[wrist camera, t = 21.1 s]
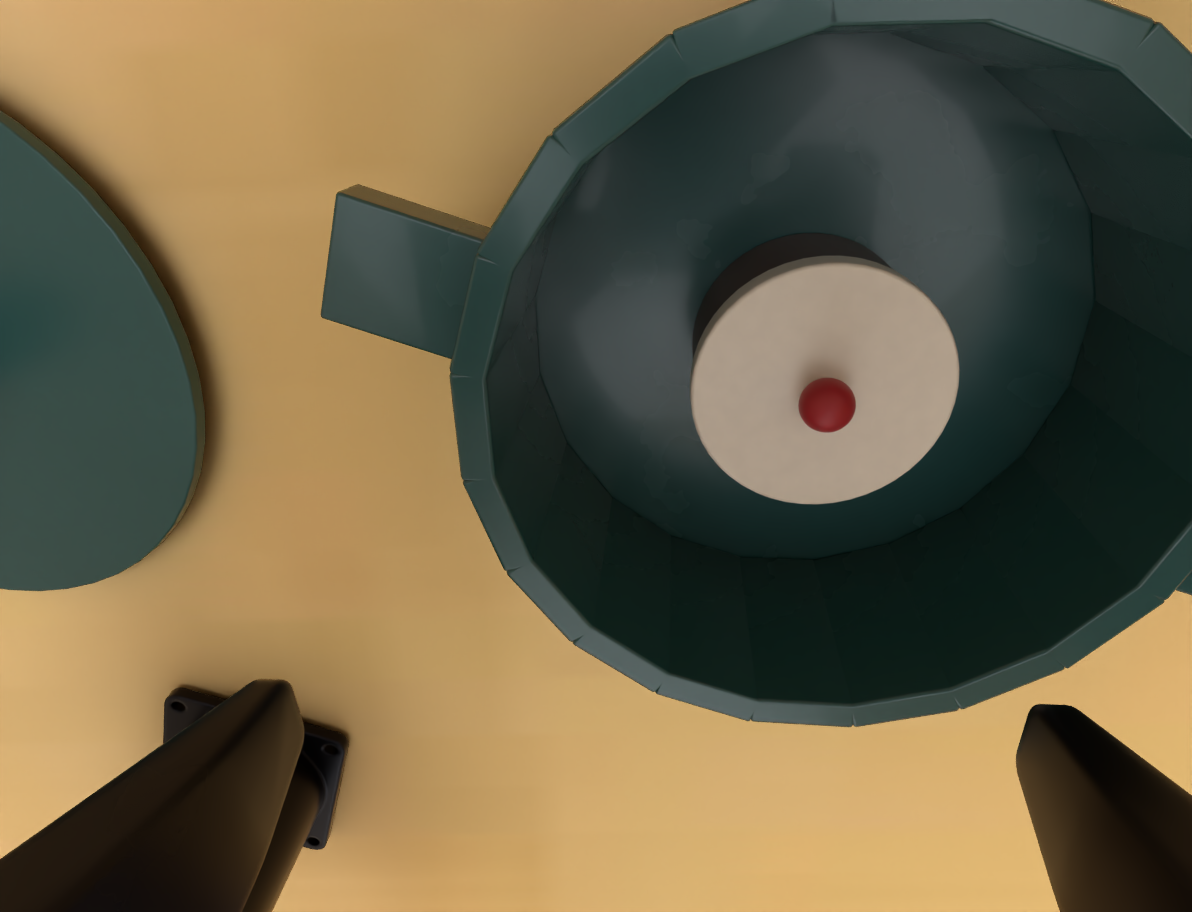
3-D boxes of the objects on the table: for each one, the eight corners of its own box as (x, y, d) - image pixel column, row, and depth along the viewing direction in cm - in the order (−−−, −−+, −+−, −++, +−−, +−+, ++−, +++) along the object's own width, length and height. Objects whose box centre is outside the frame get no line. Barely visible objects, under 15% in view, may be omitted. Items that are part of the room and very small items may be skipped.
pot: (1006, 651, 23) (1103, 828, 18) (369, 454, 22) (273, 581, 16) (1379, 168, 16) (1718, 224, 11) (479, -157, 15) (373, -270, 10)
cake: (852, 465, 20) (895, 564, 16) (658, 402, 20) (653, 488, 16) (958, 270, 17) (1039, 332, 13) (736, 195, 17) (754, 237, 13)
